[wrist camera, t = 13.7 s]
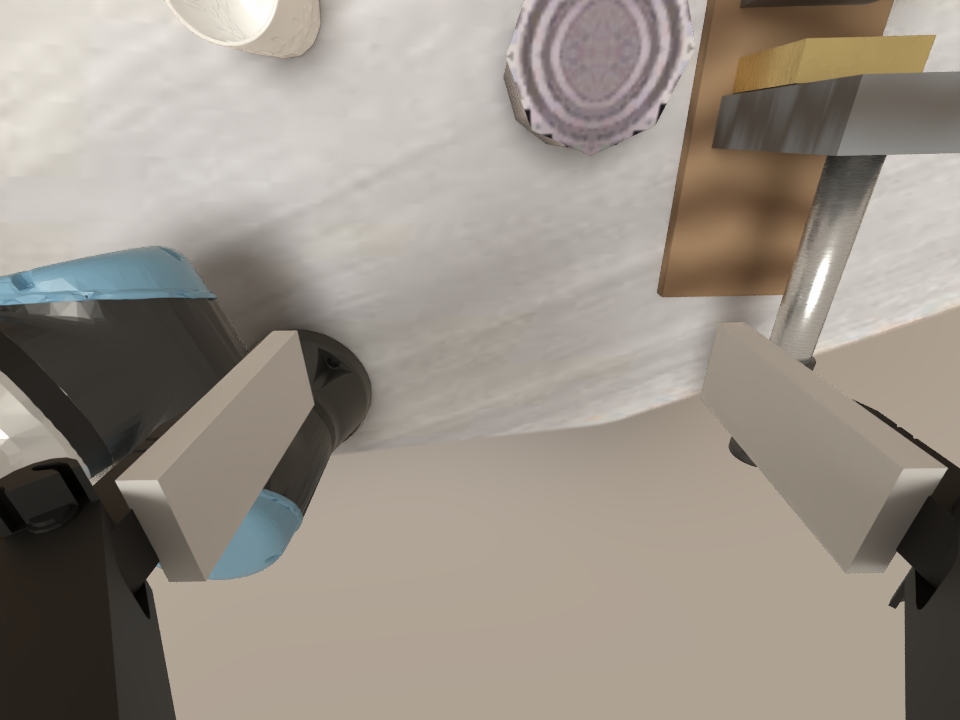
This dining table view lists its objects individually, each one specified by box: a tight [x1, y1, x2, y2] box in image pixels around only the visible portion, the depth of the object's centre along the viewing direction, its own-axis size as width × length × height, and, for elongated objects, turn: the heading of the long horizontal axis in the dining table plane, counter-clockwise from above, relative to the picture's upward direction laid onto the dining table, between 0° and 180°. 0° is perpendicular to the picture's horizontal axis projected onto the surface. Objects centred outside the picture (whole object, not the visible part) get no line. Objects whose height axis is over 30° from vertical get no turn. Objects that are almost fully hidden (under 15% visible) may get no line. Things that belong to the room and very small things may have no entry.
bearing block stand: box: [657, 0, 960, 297], centre depth 32 cm, size 30×14×17 cm, turn 1°
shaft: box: [729, 155, 886, 467], centre depth 35 cm, size 28×4×4 cm, turn 1°
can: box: [504, 0, 695, 156], centre depth 33 cm, size 11×11×12 cm
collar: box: [732, 35, 936, 93], centre depth 33 cm, size 2×8×8 cm, turn 91°
